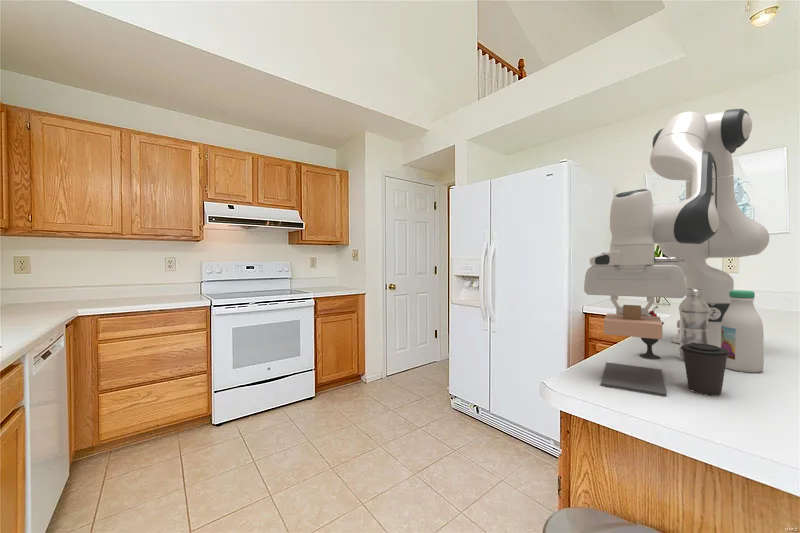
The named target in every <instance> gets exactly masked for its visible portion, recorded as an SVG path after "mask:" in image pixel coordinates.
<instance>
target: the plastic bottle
mask: <svg viewBox="0 0 800 533" xmlns="http://www.w3.org/2000/svg"><path fill="white" fill-rule="evenodd" d="M702 296H704V294H703V289H695V288H687V294H686V296H685V297H684V299H683V300H682V301H681V302H680V304H679V305H678V312H679V319H680V318H681V326H682V335H681V343H679V349H678V351H679V355H680V357H681V358H682V359H683V360H684V354H683V350H682V349H681V348H680V347H682V345H685V344H690V343H700V344H708V336H707V328H708V319H709V312H710V308H709V306H708V304H707V303H706V302H705V301H704V300H703V298H702Z"/></svg>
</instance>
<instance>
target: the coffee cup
mask: <svg viewBox="0 0 800 533" xmlns="http://www.w3.org/2000/svg"><path fill="white" fill-rule="evenodd" d="M679 347H680V346H679ZM680 348H681V349H682V350H683V354H684V359H683V361H684V365H685V374H686V380H687V388H688V390H690V391H691V390H693V391H695V392H694V393H696V392H698V393H697V394H700V393H702V394H701V395H704V394H707V395H706V396H712V395H718V396H721V395H722V391H723V386H724V385H723V383H724V377H725V371H726V367H725V366H726V360H727V356H728V355H730V353H729V352H728V350H726V349H723V348H719V347H717V346H714V345H709V344H700V343H690V344H685V345H682V347H680ZM693 391H692V392H693ZM720 394H721V395H720Z"/></svg>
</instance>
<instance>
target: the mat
mask: <svg viewBox="0 0 800 533" xmlns="http://www.w3.org/2000/svg"><path fill="white" fill-rule="evenodd" d="M600 386H601V387H605V388H612V389H619V390H625V391H631V392H636V393H642V394H648V395H653V396H660V397H667V390H666V386H665V381H664V375H663V370H662V369H661V368H653V367H646V366H645V367H644V366H638V365H637V366H636V365H629V364H624V363H617V362H616V363H614V362H606V363H605V366H604V369H603V374H602V378H601V382H600Z"/></svg>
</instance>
